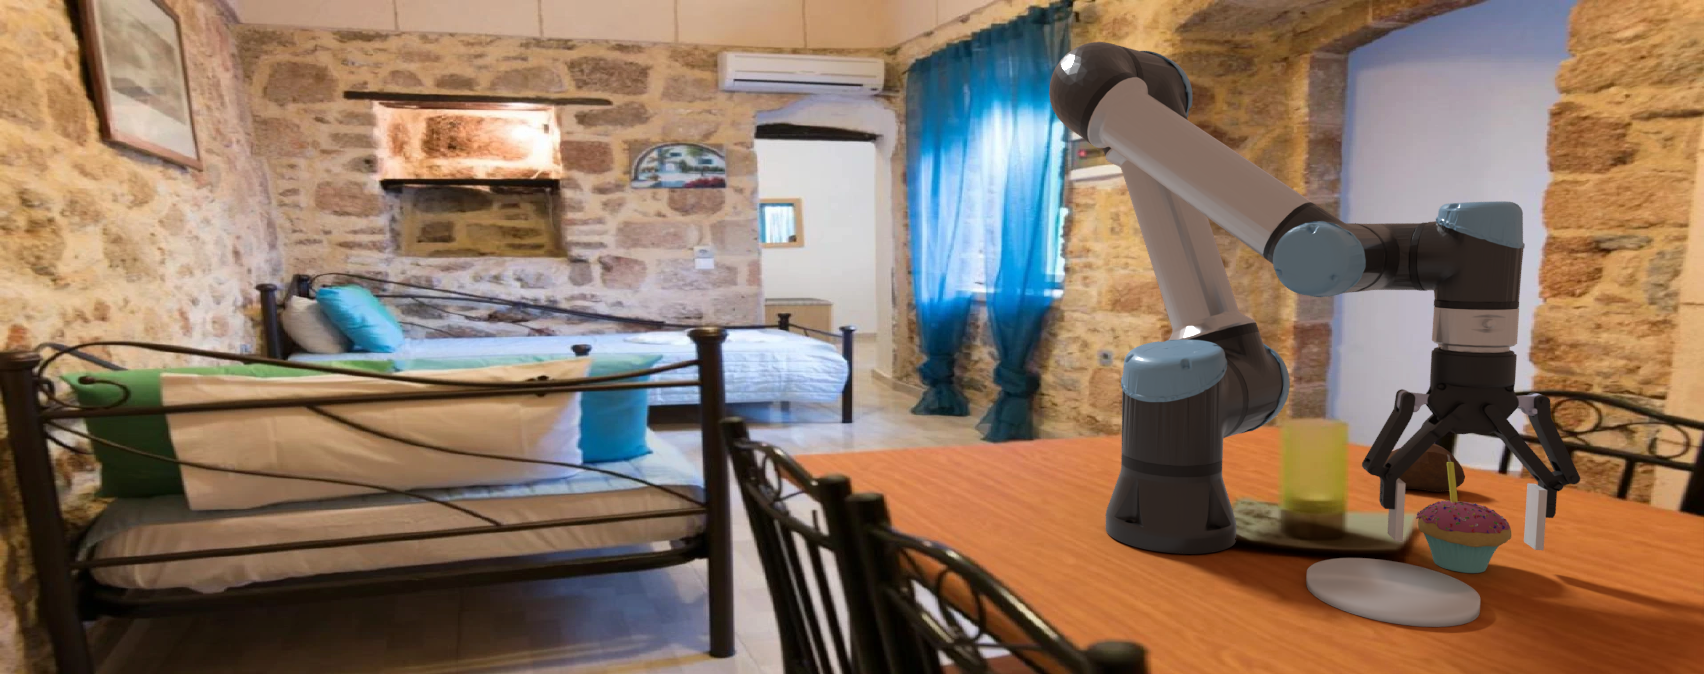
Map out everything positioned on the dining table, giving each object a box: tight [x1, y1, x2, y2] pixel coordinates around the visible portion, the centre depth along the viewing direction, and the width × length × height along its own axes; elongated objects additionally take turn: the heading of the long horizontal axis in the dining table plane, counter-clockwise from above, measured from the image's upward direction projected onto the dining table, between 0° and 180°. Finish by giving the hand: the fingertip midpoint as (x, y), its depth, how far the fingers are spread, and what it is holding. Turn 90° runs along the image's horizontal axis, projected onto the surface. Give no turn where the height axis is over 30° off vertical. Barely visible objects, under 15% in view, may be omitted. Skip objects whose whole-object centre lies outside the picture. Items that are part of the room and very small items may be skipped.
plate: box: [1305, 557, 1481, 628], centre depth 91 cm, size 15×15×1 cm
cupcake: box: [1415, 455, 1512, 574], centre depth 98 cm, size 9×8×12 cm
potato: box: [1385, 443, 1466, 493], centre depth 128 cm, size 7×10×7 cm
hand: (1463, 541), depth 98 cm, fingers open, 12 cm apart
